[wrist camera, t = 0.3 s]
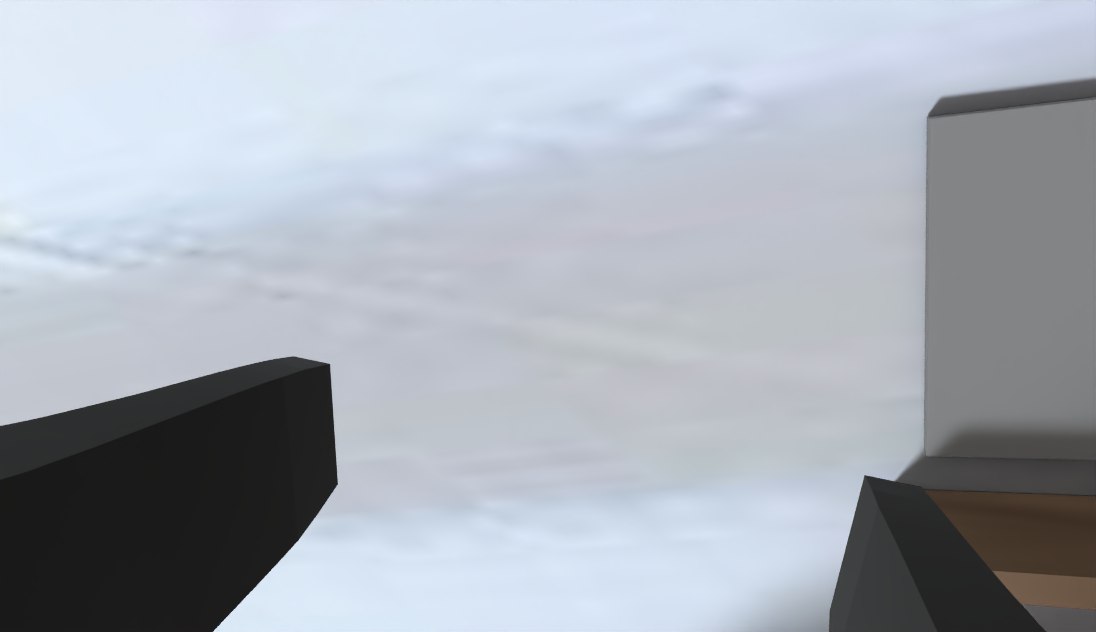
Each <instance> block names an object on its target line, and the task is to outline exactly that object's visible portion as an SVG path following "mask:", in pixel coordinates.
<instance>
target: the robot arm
mask: <svg viewBox="0 0 1096 632" xmlns="http://www.w3.org/2000/svg"><path fill="white" fill-rule="evenodd" d="M337 485H338V481H337V465H336V450H335V435H334V420H333V404H332V389H331V374H330V364H327V363H323V362H318V361H313V360H308V359H303V358H298V357H286V358H279V359H273V360H268V361H263V362H259V363H254V364H250V365H246V366H242V367H237V368H234V369H230V370H226V371H222V372H218V373H214V374H211V375H207V376H203V377H199V378H196V379H192V380H188V381H184V382H181V383H177V384H173V385H170V386H166V387H162V388H158V389H155V390H151V391H147V392H144V393H140V394H136V395H132V396H128V397H124V398H120V399H116V400H112V401H108V402H104V403H100V404H96V405H91V406H87V407H83V408H79V409H75V410H71V411H67V412H63V413H59V414H55V415H51V416H46V417H42V418H37V419H33V420H28V421H23V422H18V423H13V424H9V425H4V426H0V632H213V631H214V630H215V629H216V628H217V627H218V626H219V625H220V624H221V622H222V621H223V620H224V619H225V618H226V617H227V616H228V615H229V614H230V613H231V612H232V611H233V610H234V609H235V608H236V607H237V606H238V605H239V604H240V602H241V601H242V600H243V599H244V598H245V597H246V596H247V595H248V594H249V593H250V592H251V591H252V590H253V589H254V588H255V587H256V586H257V585H258V584H259V582H260V581H261V580H262V579H263V578H264V577H265V576H266V575H267V574H268V573H269V572H270V571H271V569H272V568H273V567H274V566H275V565H276V564H277V563H278V562H279V561H280V560H281V559H282V558H283V557H284V555H285V554H286V553H287V552H288V551H289V550H290V549H291V548H292V547H293V546H294V544H295V543H296V542H297V541H298V540H299V539H300V537H301V536H302V534H303V533H304V532H305V530H306V529H307V528H308V526H309V525H310V524H311V522H312V521H313V520H314V518H315V517H316V516H317V514H318V513H319V511H320V510H321V508H322V507H323V505H324V504H325V502H326V501H327V499H328V498H329V496H330V495H331V493H332V492H333V490H334V489H335V488H336V486H337ZM829 632H1046V631H1045V630H1044V629H1043V628H1042V627H1041V626H1040V625H1039V624H1038V622H1037V621H1036V620H1035V619H1034V618H1033V617H1032V616H1031V615H1030V614H1029V612H1028V611H1027V610H1026V609H1025V608H1024V607H1023V606H1022V605H1021V604H1020V602H1019V601H1018V600H1017V599H1016V598H1015V597H1014V596H1013V594H1012V593H1011V592H1010V591H1009V590H1008V589H1007V588H1006V587H1005V585H1004V584H1003V583H1002V582H1001V581H1000V580H999V578H998V577H997V576H996V575H995V574H994V573H993V571H992V570H991V569H990V568H989V567H988V566H987V564H986V563H985V562H984V561H983V560H982V559H981V557H980V556H979V555H978V554H977V553H976V551H975V550H974V549H973V548H972V547H971V545H970V544H969V543H968V542H967V541H966V539H965V538H964V537H963V536H962V535H961V533H960V532H959V531H958V530H957V529H956V527H955V526H954V525H953V524H952V522H951V521H950V520H949V519H948V518H947V516H946V515H945V514H944V513H943V512H942V510H941V509H940V508H939V507H938V506H937V504H936V503H935V502H934V501H933V500H932V499H931V497H930V496H929V495H928V494H927V493H926V492H925V491H924V489H923V488H922V487H919V486H914V485H909V484H904V483H899V482H894V481H890V480H885V479H880V478H875V477H870V476H866V475H865V476H864V480H863V484H862V488H861V492H860V496H859V499H858V503H857V507H856V511H855V515H854V519H853V523H852V527H851V530H850V534H849V538H848V542H847V546H846V550H845V554H844V558H843V561H842V565H841V569H840V573H839V577H838V581H837V585H836V589H835V592H834V596H833V600H832V604H831V608H830V621H829Z"/></svg>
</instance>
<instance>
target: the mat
mask: <svg viewBox="0 0 1096 632" xmlns="http://www.w3.org/2000/svg"><path fill="white" fill-rule="evenodd" d="M924 449H925V453H926V456H932V457H976V458H1019V459H1062V460H1096V97H1090V98H1082V99H1073V100H1065V101H1056V102H1048V103H1039V104H1031V105H1023V106H1014V107H1006V108H997V109H989V110H980V111H972V112H963V113H955V114H947V115H938V116H930V117H927V173H926V285H925V398H924Z"/></svg>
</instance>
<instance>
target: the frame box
mask: <svg viewBox="0 0 1096 632" xmlns="http://www.w3.org/2000/svg"><path fill="white" fill-rule="evenodd" d="M924 491H925V492H926V493H927V494H928V495H929V496H930V497H931V499H932V500H933V501H934V502H935V503H936V504H937V506H938V507H939V508H940V509H941V510H942V512H943V513H944V514H945V515H946V516H947V518H948V519H949V520H950V521H951V522H952V524H953V525H954V526H955V527H956V529H957V530H958V531H959V532H960V533H961V535H962V536H963V537H964V538H965V539H966V541H967V542H968V543H969V544H970V545H971V547H972V548H973V549H974V550H975V551H976V553H977V554H978V555H979V556H980V557H981V559H982V560H983V561H984V562H985V563H986V564H987V566H988V567H989V568H990V569H991V570H992V571H993V573H994V574H995V575H996V576H997V577H998V578H999V580H1000V581H1001V582H1002V583H1003V584H1004V585H1005V587H1006V588H1007V589H1008V590H1009V591H1010V592H1011V593H1012V594H1013V596H1014V597H1015V598H1016V599H1017V600H1018V601H1019V602H1020V604H1026V605H1039V606H1051V607H1063V608H1075V609H1088V610H1096V496H1078V495H1051V494H1024V493H997V492H970V491H943V490H924Z"/></svg>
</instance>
